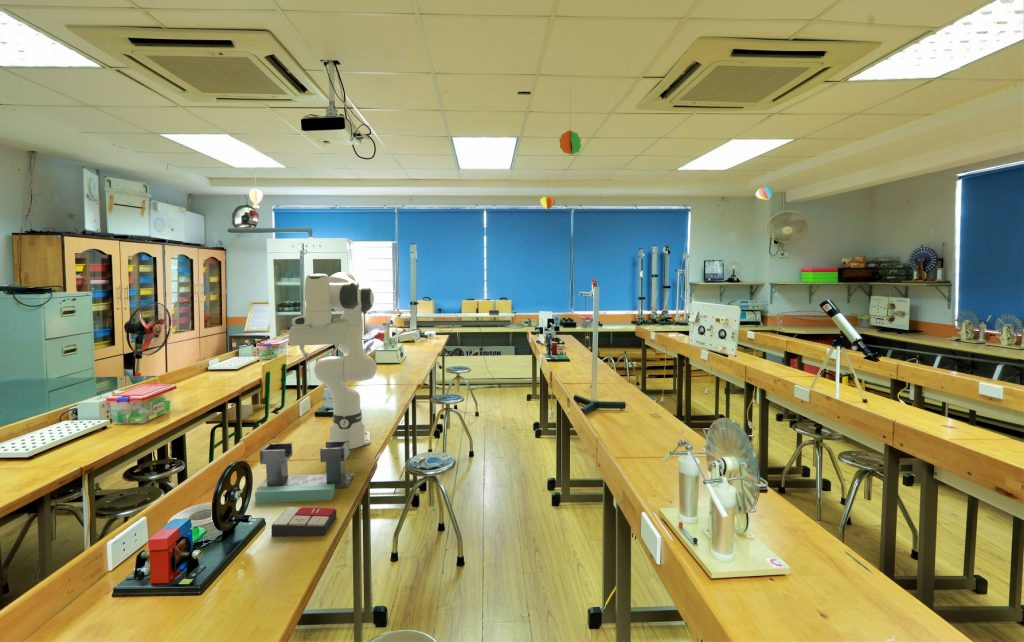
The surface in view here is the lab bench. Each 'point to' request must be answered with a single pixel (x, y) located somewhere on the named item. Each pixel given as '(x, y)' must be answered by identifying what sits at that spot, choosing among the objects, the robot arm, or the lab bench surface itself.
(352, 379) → the robot arm
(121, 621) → the lab bench surface
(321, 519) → the large key keypad
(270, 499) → the rail
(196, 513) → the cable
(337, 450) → the bracket stand
